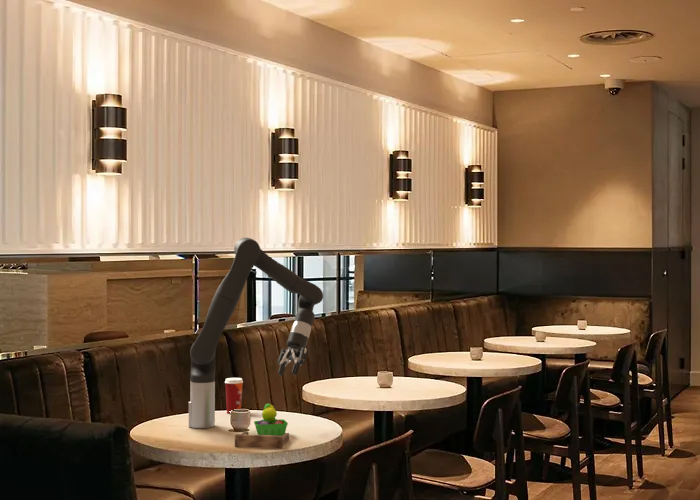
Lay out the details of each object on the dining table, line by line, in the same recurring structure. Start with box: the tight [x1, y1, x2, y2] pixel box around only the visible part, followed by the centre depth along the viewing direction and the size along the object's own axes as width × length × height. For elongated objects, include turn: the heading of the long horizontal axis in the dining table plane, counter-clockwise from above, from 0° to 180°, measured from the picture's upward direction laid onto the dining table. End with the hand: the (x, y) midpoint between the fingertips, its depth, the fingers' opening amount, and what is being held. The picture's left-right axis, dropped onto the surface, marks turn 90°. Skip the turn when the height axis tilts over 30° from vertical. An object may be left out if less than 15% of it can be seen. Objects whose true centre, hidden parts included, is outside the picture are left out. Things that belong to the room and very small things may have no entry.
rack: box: [234, 430, 290, 449], centre depth 340 cm, size 16×14×4 cm
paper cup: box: [224, 377, 244, 415], centre depth 395 cm, size 8×8×14 cm
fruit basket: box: [253, 403, 289, 436], centre depth 353 cm, size 11×9×11 cm
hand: (287, 374), depth 365 cm, fingers open, 8 cm apart
